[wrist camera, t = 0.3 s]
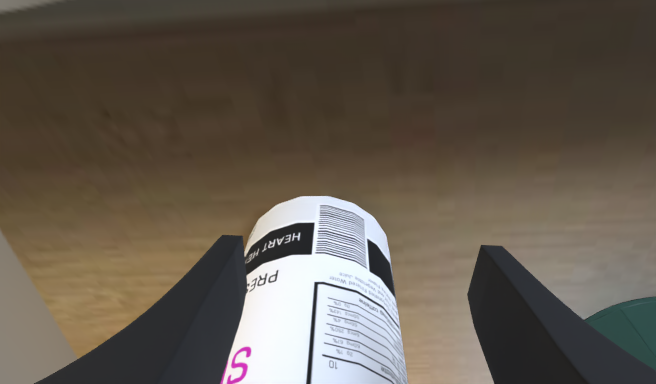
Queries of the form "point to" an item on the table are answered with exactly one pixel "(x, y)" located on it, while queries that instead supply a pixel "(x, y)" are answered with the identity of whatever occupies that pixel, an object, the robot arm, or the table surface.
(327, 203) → the supplement can
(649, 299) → the green pot
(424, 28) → the table surface
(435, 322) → the table surface
